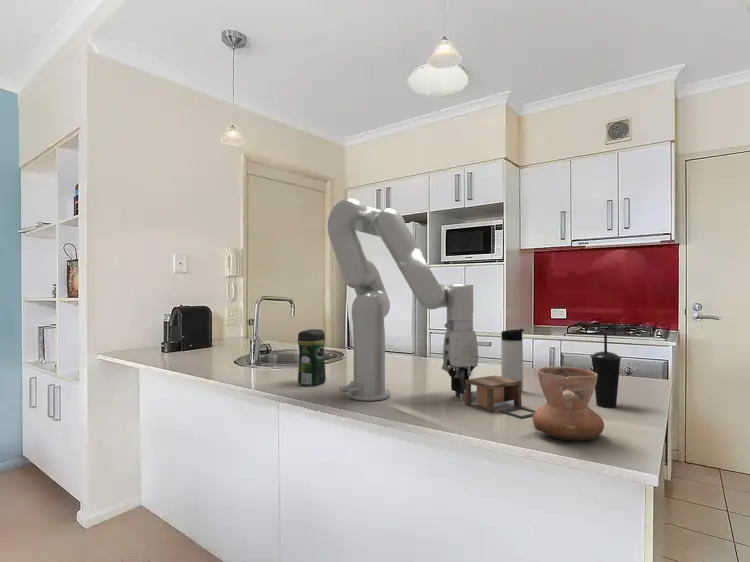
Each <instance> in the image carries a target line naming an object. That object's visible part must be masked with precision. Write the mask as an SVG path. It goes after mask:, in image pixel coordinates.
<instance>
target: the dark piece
mask: <svg viewBox="0 0 750 562" xmlns="http://www.w3.org/2000/svg"><path fill="white" fill-rule="evenodd" d="M518 410H522V411H525V412H529V413H528V414H524V415H520V414H516V413H512V412H513V411H514V412H515V411H518ZM535 411H536V410H535V409H532V408H527V407H523V406H520V407H519V406H514V407H512V408H507V409H502V410H499V413H501V414H504V415H506V416H510V417H513V418H517V419H521V420H524V419H527V418H531V417H532V418H533V414H534V412H535Z"/></svg>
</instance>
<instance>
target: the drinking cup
mask: <svg viewBox="0 0 750 562" xmlns="http://www.w3.org/2000/svg"><path fill="white" fill-rule="evenodd" d="M603 338H604V339H603V344H604V345H603V347H604V348H603V351H598V352H595V353H593V354H590V358H591V365H592V372H595V373H597V374H598V376H597V382H596V386H595V389H594V392H595V402H596V406H598V405H599V406H598V407H600V406H602V407H601V408H606V407H609V408H608V409H610V408H611V409H614V408H613V407H615V408H617V400H618V389H619V379H620V378H619V377H620V368H621V367H620V366H621V360H622V357H623V356H620V355H619V354H616V353H615V352H610V351H608V333H607V332H604V333H603Z"/></svg>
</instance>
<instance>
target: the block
mask: <svg viewBox="0 0 750 562" xmlns="http://www.w3.org/2000/svg"><path fill="white" fill-rule="evenodd" d="M476 391H477V404H479V405H483V406H486V407H487V388H484V387H480V386H476ZM500 401H504V387H500V388H495V389H493V403H495V402H500ZM493 407H494V406H493Z"/></svg>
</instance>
